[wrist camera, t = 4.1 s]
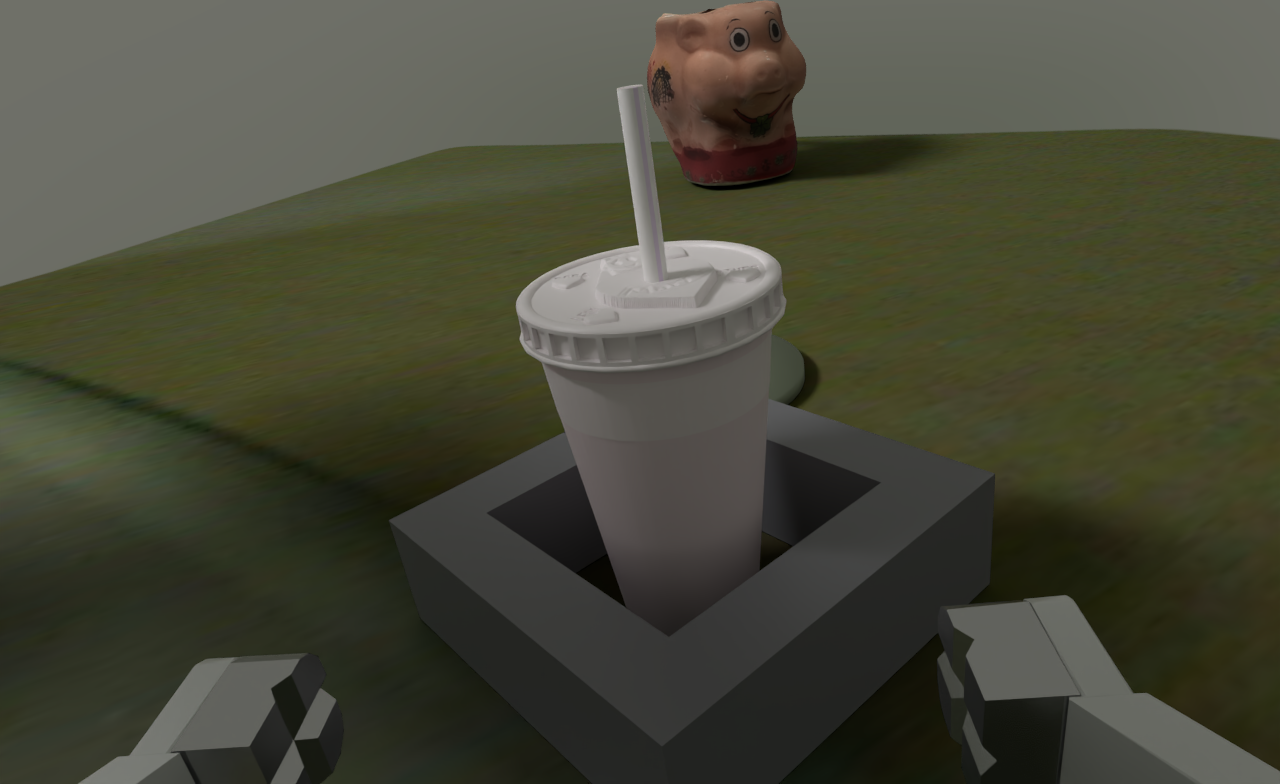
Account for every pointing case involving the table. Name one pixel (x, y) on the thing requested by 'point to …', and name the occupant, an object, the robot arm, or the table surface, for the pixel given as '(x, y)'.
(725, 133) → the cartoon character mug
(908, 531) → the socket collar
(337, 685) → the table surface
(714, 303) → the smoothie
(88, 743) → the table surface
